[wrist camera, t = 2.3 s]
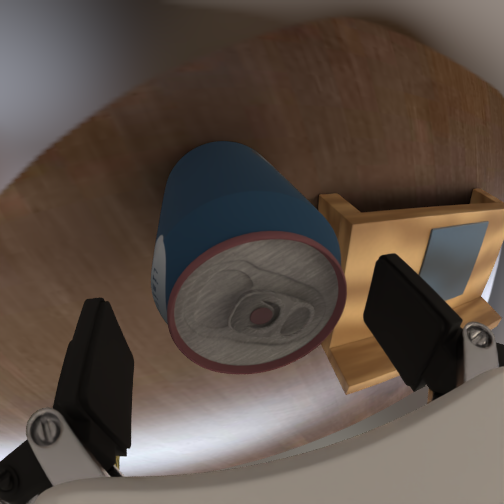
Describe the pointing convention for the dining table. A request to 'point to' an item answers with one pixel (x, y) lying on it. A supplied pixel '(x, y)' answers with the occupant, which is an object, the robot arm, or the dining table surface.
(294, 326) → the soda can
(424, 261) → the wooden block with lip
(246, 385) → the dining table surface
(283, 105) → the dining table surface
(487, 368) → the robot arm
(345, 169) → the dining table surface
